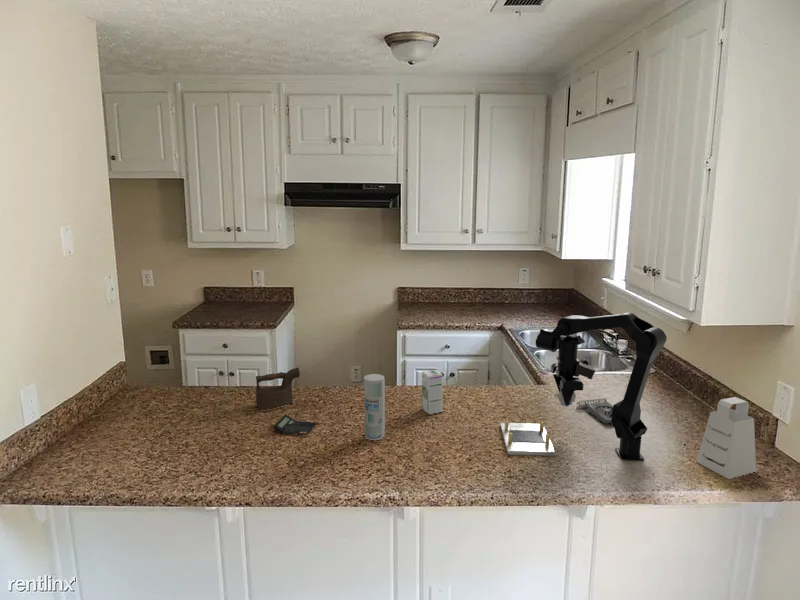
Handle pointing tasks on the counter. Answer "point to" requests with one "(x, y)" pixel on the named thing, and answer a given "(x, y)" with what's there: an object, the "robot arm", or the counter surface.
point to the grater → (729, 440)
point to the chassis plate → (527, 439)
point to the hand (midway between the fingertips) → (564, 401)
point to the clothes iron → (276, 390)
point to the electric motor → (563, 399)
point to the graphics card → (598, 409)
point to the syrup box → (432, 391)
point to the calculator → (293, 426)
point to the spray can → (374, 406)
